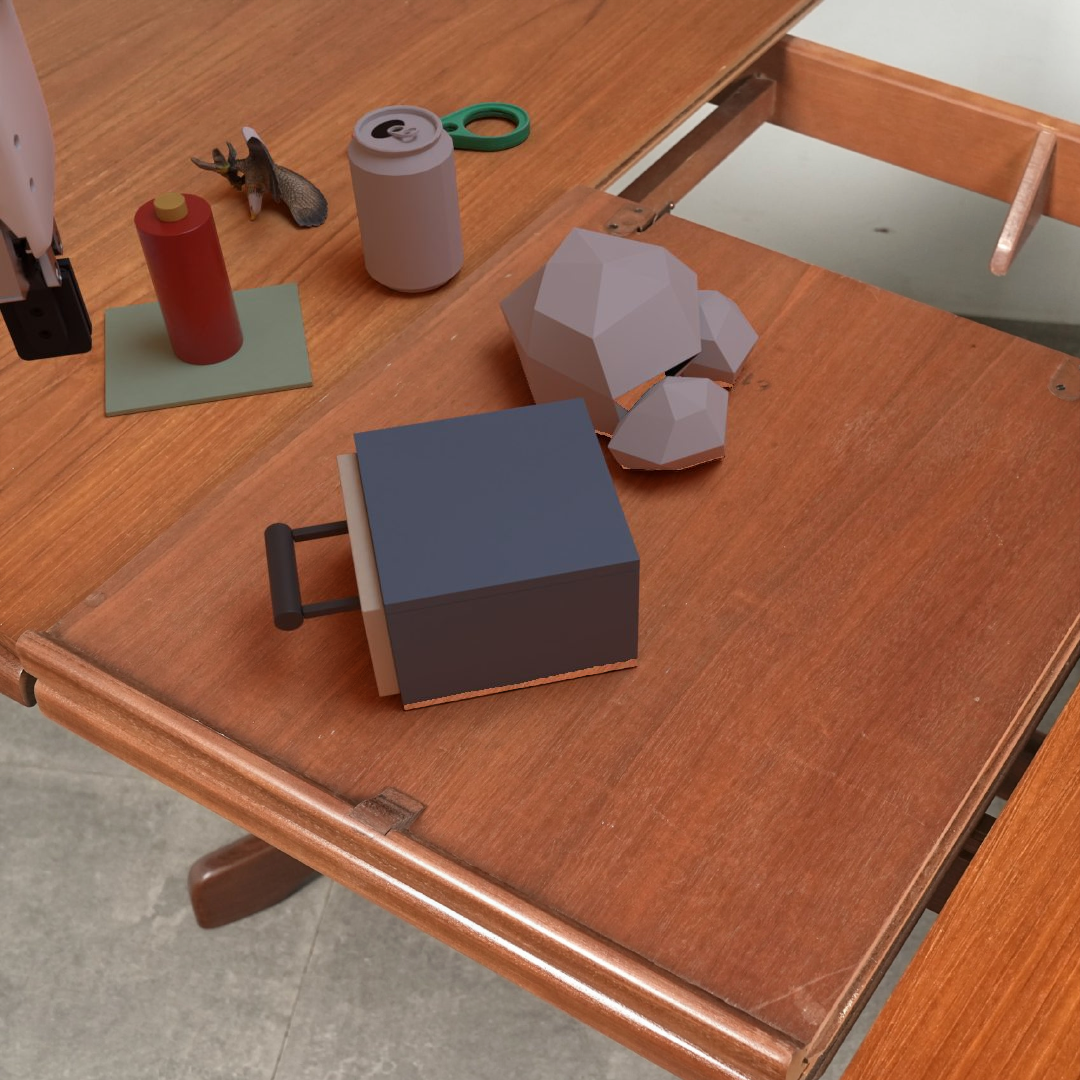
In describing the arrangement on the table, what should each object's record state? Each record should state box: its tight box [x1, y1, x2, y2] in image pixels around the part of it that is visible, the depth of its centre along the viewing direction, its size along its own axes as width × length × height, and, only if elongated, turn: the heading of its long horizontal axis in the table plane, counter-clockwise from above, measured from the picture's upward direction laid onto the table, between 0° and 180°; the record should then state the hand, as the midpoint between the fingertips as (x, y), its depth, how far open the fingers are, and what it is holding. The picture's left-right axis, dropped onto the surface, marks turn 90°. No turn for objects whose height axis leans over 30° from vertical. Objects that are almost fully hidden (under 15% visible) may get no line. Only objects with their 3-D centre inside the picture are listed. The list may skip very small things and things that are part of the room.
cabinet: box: [352, 398, 641, 706], centre depth 79 cm, size 14×14×9 cm
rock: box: [498, 226, 760, 471], centre depth 92 cm, size 18×20×10 cm
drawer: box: [263, 452, 401, 698], centre depth 79 cm, size 17×12×7 cm
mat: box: [104, 282, 314, 418], centre depth 99 cm, size 14×12×1 cm
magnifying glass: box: [350, 101, 531, 152], centre depth 117 cm, size 15×6×2 cm, turn 108°
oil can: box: [133, 191, 243, 365], centre depth 94 cm, size 5×5×12 cm
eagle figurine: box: [190, 126, 329, 228], centre depth 108 cm, size 8×7×9 cm
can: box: [347, 104, 465, 294], centre depth 101 cm, size 8×8×12 cm
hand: (57, 345), depth 63 cm, fingers closed
